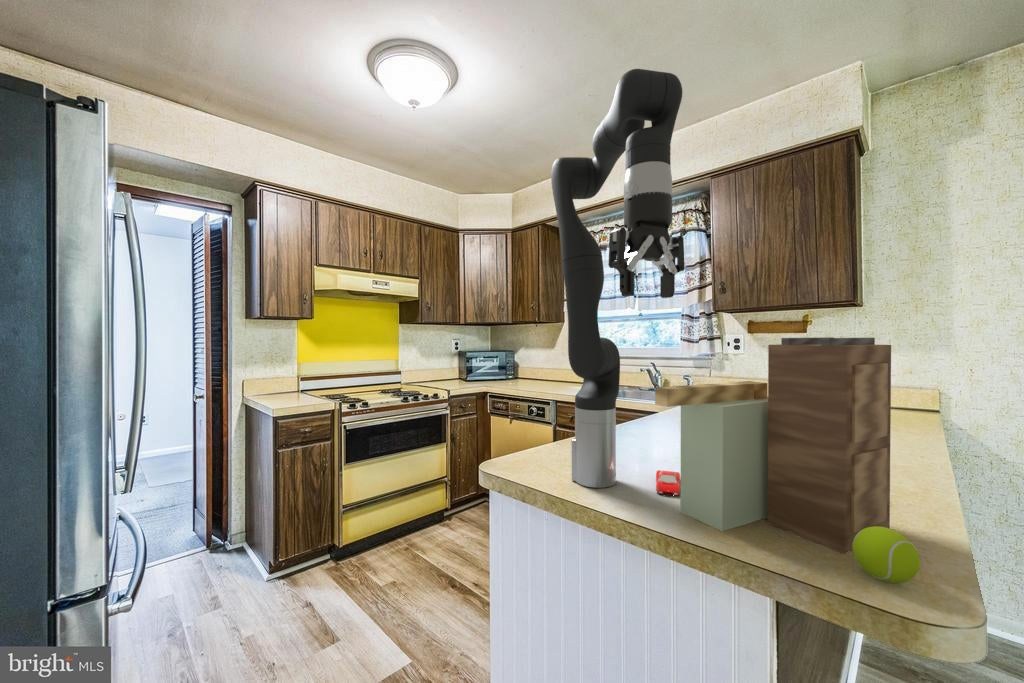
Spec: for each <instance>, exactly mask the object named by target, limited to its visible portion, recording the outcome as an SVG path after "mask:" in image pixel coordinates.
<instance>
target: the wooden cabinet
mask: <svg viewBox="0 0 1024 683" xmlns="http://www.w3.org/2000/svg"><path fill="white" fill-rule="evenodd" d="M875 338H876V337H829V336H827V337H781V343H780V344H777V343H776V344H768V347H767V348H768V349H767V350H768V354H767V355H768V356H767V357H768V358H767V362H768V364H767V365H768V366H767V367H768V368H767V369H768V370H767V374H768V375H767V377H768V378H767V383H768V386H767V398H768V517H767V524H768V525H771V526H774V527H777V528H779V529H780V530H781V529H782V530H784V531H787V532H789V533H790V534H793V535H796V536H800V537H801V538H804V539H806V540H809V541H812V542H814V543H817V544H818V545H821V546H824V547H826V548H829V549H832V550H834V551H837V552H839V553H841V554H846V553H849V552H852V551H853V547H852V546H853V540H854V538H855V536H856V535H857V533H858V532H860V531H861V530H863V529H865V528H868V527H874V526H878V527H885V528H889V529H891V528H890V522H891V521H890V520H891V519H890V517H891V509H890V508H891V506H890V505H891V501H890V500H891V422H892V421H891V418H892V417H891V416H892V414H891V412H892V411H891V409H892V408H891V403H892V401H891V400H892V398H891V397H892V396H891V395H892V391H891V390H892V386H891V385H892V344H875V340H876V339H875Z"/></svg>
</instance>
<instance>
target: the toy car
mask: <svg viewBox="0 0 1024 683" xmlns="http://www.w3.org/2000/svg"><path fill="white" fill-rule="evenodd" d="M655 482H656V483H655V484H656V485H655V491H657V492H656V494H657V495H658V494H659V495H658V496H663V495H665V497H671V496H673V495H674V496H679V497H680V496H681V472H679V471H669V470H660V469H659V470H656V473H655Z"/></svg>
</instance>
